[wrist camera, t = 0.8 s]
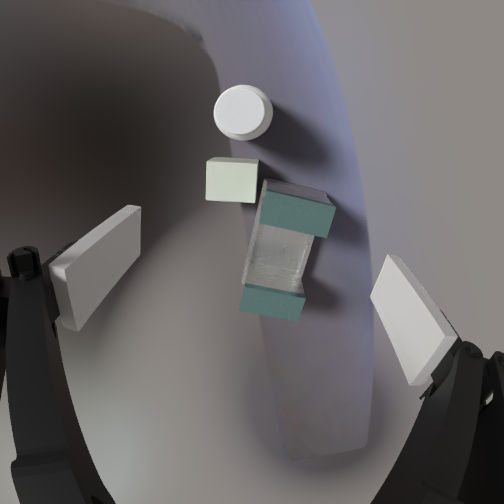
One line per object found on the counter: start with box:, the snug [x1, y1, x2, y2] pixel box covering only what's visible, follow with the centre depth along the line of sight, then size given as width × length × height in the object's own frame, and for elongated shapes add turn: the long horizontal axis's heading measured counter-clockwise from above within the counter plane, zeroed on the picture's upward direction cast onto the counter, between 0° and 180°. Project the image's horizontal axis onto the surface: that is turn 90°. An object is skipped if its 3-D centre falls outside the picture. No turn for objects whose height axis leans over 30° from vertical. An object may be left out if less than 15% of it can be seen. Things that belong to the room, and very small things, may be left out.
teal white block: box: [239, 177, 336, 321], centre depth 31 cm, size 13×7×7 cm, turn 168°
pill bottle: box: [214, 85, 273, 141], centre depth 24 cm, size 5×5×9 cm
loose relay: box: [206, 157, 259, 203], centre depth 29 cm, size 4×5×4 cm
